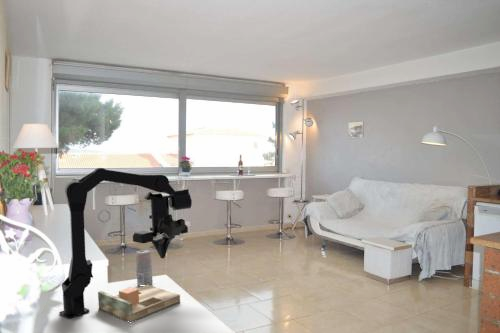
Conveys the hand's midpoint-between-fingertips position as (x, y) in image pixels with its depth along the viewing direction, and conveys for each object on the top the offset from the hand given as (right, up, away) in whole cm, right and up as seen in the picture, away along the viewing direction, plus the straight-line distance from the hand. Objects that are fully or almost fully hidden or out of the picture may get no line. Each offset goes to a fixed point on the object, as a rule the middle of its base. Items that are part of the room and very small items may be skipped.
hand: (162, 258), depth 132 cm
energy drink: (-9, -12, +11) cm, 19 cm away
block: (-7, -11, -13) cm, 18 cm away
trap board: (-5, -13, -9) cm, 16 cm away
